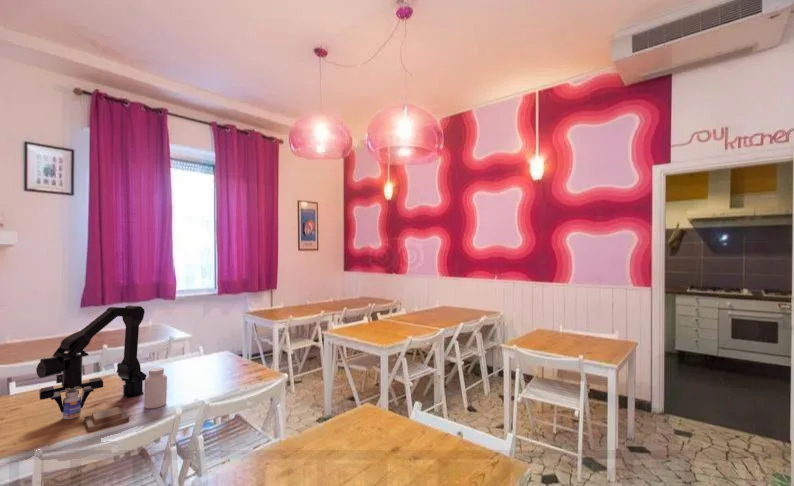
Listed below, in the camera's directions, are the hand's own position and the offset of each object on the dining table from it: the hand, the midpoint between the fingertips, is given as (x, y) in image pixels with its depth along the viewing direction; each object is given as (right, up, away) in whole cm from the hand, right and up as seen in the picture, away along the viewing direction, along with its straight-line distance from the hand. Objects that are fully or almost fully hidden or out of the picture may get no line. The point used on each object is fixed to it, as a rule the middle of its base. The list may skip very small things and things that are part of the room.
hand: (71, 410), depth 149 cm
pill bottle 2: (+25, -3, +11) cm, 28 cm away
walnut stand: (+16, -3, -4) cm, 17 cm away
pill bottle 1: (0, -3, 0) cm, 3 cm away
